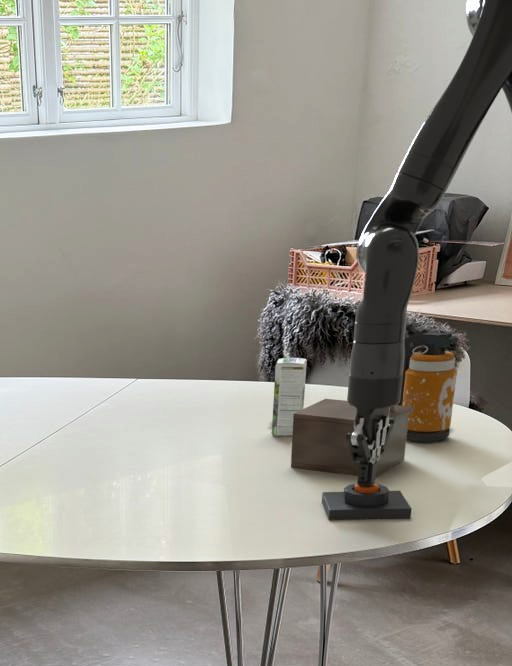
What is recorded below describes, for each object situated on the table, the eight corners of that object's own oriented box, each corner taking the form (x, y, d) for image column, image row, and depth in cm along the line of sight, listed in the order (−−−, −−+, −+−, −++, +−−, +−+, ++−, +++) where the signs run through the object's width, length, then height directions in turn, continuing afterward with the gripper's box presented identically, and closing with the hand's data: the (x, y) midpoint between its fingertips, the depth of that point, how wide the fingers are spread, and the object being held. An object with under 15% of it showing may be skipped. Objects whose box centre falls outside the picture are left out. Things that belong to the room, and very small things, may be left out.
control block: (399, 500, 152) (401, 479, 151) (410, 519, 144) (412, 497, 143) (321, 502, 154) (323, 481, 153) (328, 520, 146) (330, 498, 145)
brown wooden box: (404, 460, 172) (409, 410, 168) (375, 478, 163) (380, 427, 159) (321, 449, 181) (325, 403, 177) (290, 467, 173) (293, 418, 169)
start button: (375, 492, 149) (376, 481, 149) (379, 499, 146) (380, 488, 145) (352, 492, 150) (353, 482, 149) (355, 500, 147) (356, 489, 146)
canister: (434, 446, 178) (447, 336, 169) (380, 438, 185) (389, 332, 177) (457, 436, 183) (470, 328, 174) (403, 428, 191) (413, 325, 182)
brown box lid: (413, 411, 167) (416, 383, 165) (384, 427, 159) (387, 398, 157) (325, 402, 177) (326, 376, 175) (293, 418, 169) (294, 390, 167)
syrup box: (273, 429, 197) (276, 357, 191) (303, 429, 196) (307, 357, 189) (271, 436, 193) (274, 363, 186) (301, 436, 191) (305, 362, 184)
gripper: (382, 382, 133) (371, 500, 141) (418, 365, 142) (406, 477, 149) (332, 378, 138) (324, 493, 145) (369, 362, 146) (360, 471, 154)
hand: (365, 485), depth 147 cm, fingers closed
